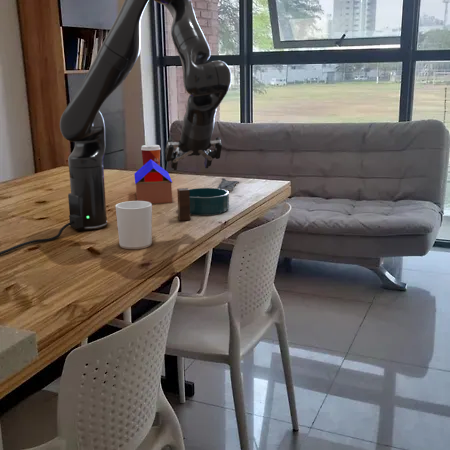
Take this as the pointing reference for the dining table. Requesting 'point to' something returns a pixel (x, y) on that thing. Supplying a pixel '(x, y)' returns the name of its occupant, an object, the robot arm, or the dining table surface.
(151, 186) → the house
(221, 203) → the bowl
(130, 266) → the dining table surface
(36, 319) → the dining table surface
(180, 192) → the brown rectangular block
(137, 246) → the mug
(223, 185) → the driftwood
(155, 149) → the paper cup
